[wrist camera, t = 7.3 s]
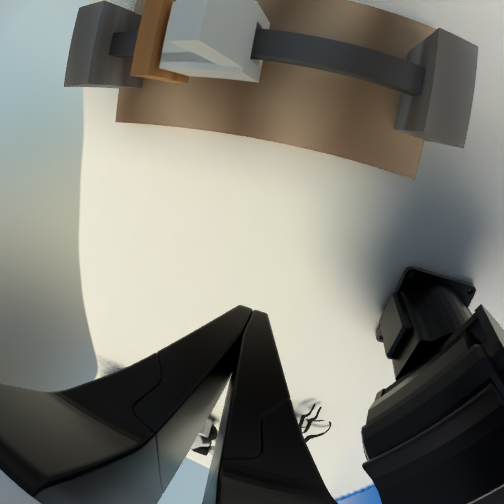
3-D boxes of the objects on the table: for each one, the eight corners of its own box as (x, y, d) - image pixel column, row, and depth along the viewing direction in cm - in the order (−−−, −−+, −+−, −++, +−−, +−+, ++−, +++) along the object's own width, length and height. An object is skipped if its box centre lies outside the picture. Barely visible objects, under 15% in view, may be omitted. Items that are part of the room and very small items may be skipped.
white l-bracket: (270, 23, 12) (221, -52, 5) (258, 82, 14) (197, 46, 7) (200, 20, 13) (112, -33, 6) (189, 76, 14) (89, 54, 7)
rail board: (435, 35, 12) (480, 3, 6) (409, 176, 16) (450, 203, 11) (145, -1, 15) (87, -28, 9) (123, 121, 19) (57, 129, 13)
